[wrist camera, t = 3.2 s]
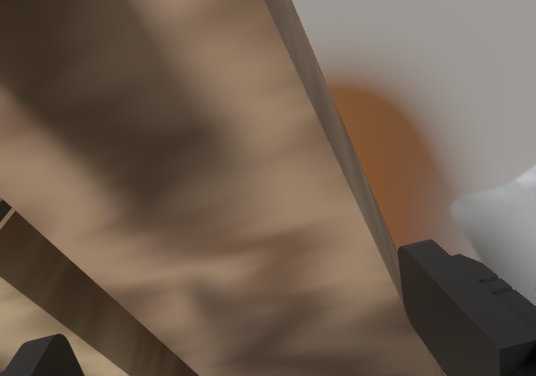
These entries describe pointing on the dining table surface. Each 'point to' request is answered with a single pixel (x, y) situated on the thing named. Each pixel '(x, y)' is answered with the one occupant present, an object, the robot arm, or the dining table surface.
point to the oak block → (69, 309)
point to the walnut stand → (203, 183)
